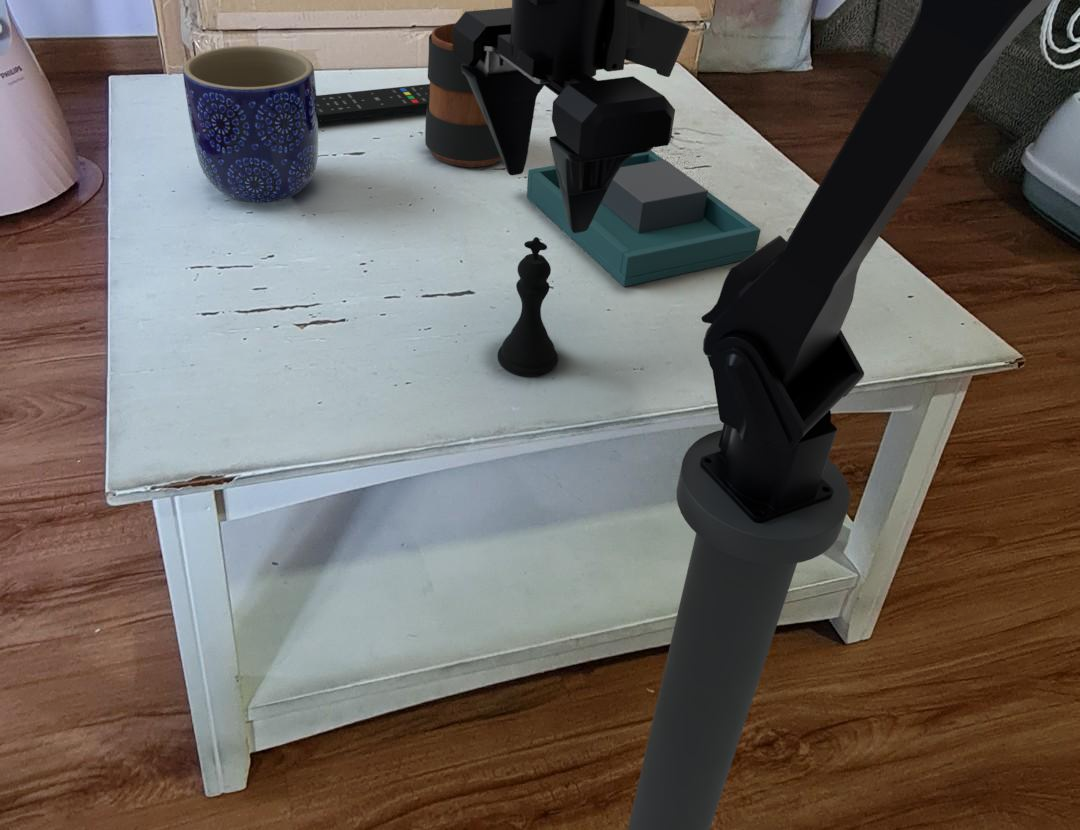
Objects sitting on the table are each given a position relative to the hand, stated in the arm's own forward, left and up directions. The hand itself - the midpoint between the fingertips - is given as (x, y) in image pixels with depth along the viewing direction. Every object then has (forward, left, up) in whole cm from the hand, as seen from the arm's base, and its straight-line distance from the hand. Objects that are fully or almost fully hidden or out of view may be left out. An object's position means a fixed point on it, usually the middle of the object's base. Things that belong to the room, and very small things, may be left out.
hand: (545, 201), depth 67 cm
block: (+15, -20, -11) cm, 27 cm away
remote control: (+47, -3, -12) cm, 48 cm away
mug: (+34, -12, -12) cm, 38 cm away
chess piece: (-1, +1, -12) cm, 12 cm away
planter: (+33, +11, -12) cm, 37 cm away
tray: (+14, -18, -12) cm, 25 cm away
